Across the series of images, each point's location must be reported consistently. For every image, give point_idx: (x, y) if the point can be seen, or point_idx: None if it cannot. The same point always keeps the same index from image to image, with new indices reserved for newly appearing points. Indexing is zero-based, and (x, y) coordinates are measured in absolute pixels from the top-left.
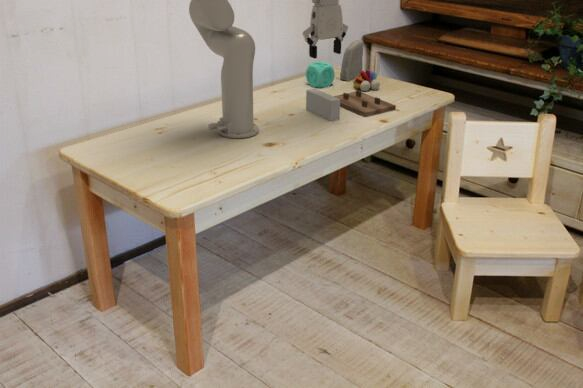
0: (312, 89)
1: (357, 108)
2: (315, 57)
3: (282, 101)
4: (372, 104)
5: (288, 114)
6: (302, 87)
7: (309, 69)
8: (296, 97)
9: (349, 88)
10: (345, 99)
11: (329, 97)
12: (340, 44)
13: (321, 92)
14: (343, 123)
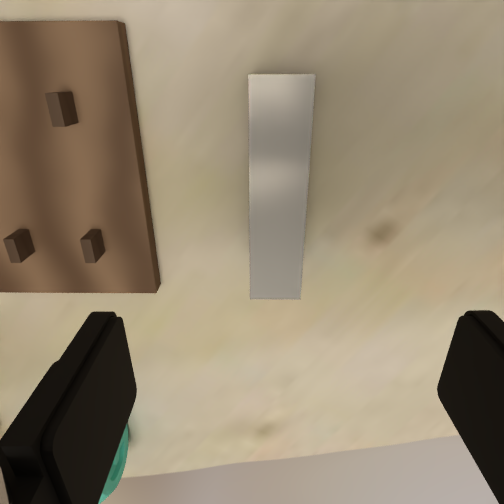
0: (269, 292)
1: (116, 103)
2: (494, 313)
3: (305, 358)
4: (14, 111)
5: (386, 244)
6: (159, 424)
7: (109, 484)
8: (237, 366)
9: (7, 351)
10: (103, 236)
11: (282, 140)
12: (44, 404)
13: (261, 234)
14: (273, 5)
